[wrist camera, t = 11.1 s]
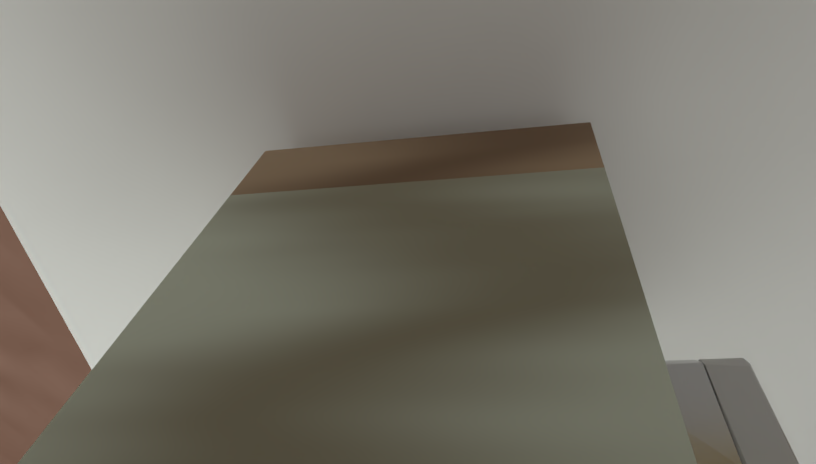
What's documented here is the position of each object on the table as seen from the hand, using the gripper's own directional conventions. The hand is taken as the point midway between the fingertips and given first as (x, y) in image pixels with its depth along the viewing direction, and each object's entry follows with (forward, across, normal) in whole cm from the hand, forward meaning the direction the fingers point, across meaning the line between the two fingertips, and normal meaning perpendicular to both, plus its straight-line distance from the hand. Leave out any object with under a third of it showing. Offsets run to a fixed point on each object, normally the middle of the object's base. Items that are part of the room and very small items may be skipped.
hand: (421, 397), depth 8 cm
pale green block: (+3, 0, 0) cm, 3 cm away
